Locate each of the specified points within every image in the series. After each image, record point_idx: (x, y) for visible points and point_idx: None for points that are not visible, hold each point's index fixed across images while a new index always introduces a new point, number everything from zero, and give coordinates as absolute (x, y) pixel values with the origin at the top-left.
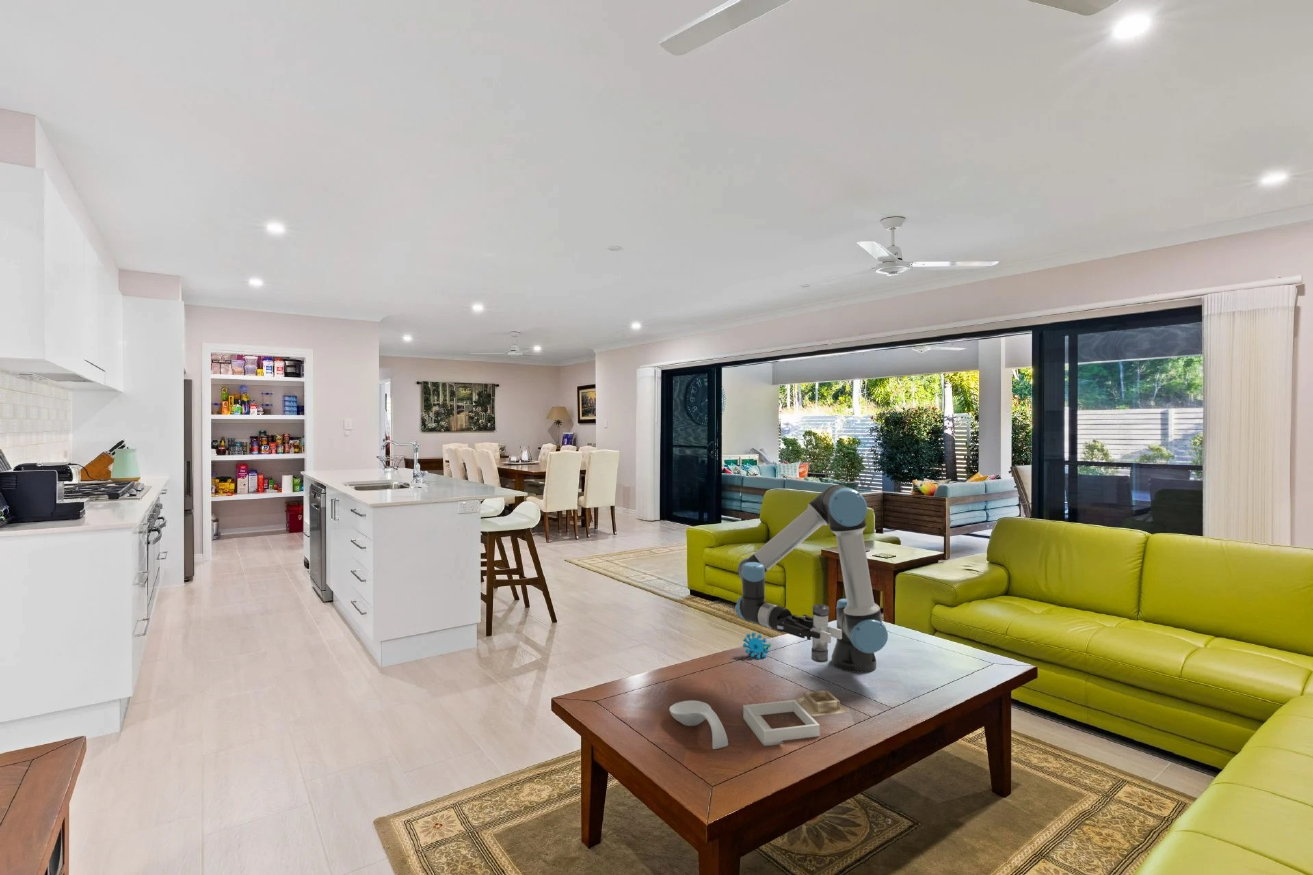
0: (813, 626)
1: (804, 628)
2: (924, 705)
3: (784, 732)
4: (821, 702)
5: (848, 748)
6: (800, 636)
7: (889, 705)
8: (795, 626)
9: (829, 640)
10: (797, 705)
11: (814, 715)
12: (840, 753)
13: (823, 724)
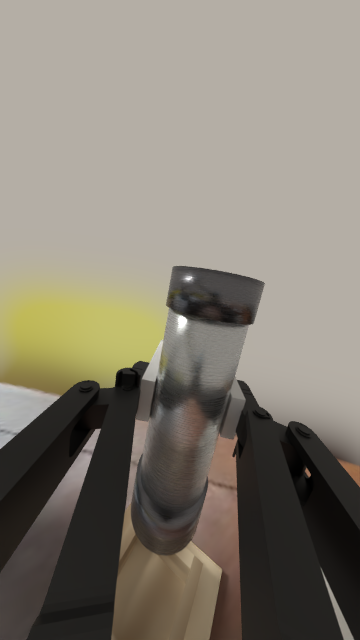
0: (229, 391)
1: (277, 438)
2: (38, 412)
3: None
4: (180, 551)
5: (232, 446)
6: (305, 476)
7: None
8: (356, 522)
9: None
10: None
11: (212, 565)
12: None
13: (212, 525)
